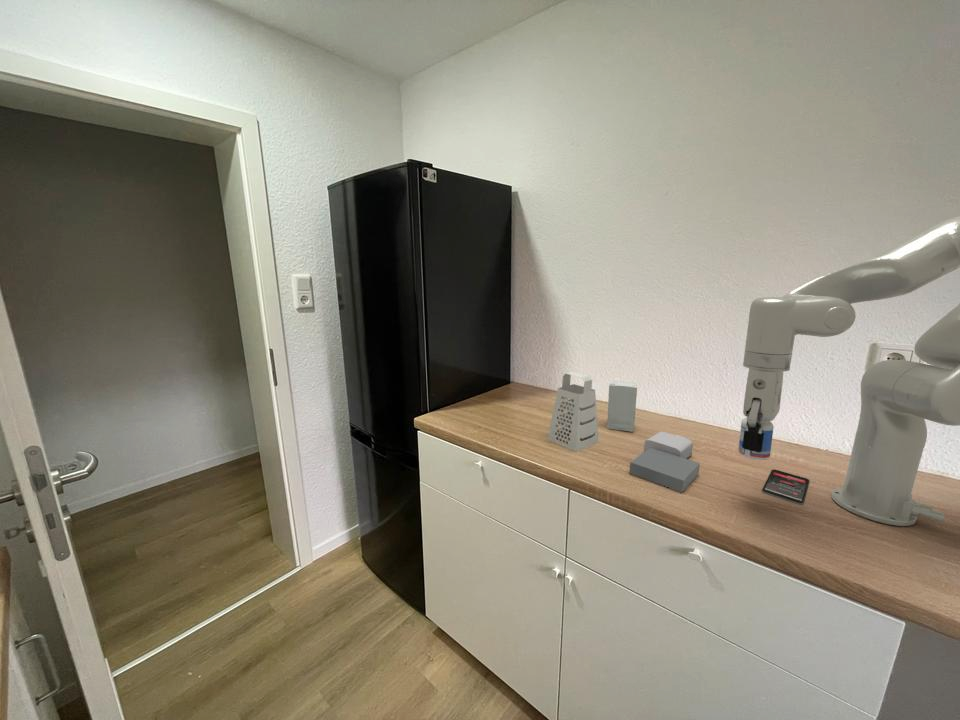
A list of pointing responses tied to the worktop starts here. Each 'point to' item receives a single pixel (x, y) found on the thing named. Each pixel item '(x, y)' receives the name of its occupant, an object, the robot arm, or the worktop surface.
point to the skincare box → (622, 405)
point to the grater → (575, 414)
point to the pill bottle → (766, 441)
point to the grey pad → (665, 469)
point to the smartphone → (786, 486)
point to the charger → (670, 444)
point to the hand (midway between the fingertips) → (754, 444)
